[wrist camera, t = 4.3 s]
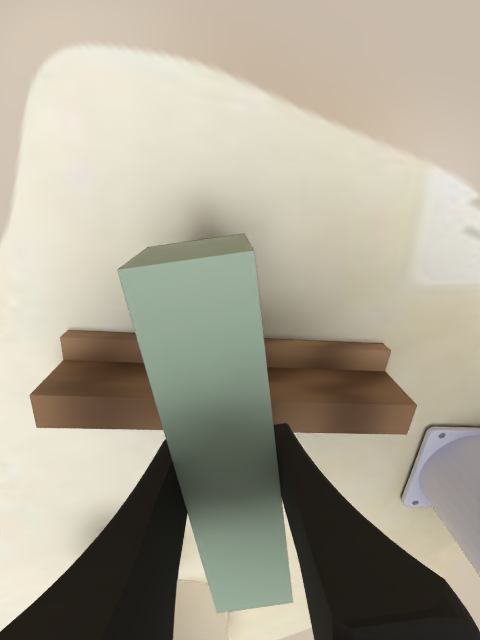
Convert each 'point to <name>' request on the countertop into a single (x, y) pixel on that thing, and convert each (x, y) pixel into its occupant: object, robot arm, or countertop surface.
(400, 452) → the countertop surface
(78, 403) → the stand
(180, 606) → the base with upright slab
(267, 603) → the pale green bar
